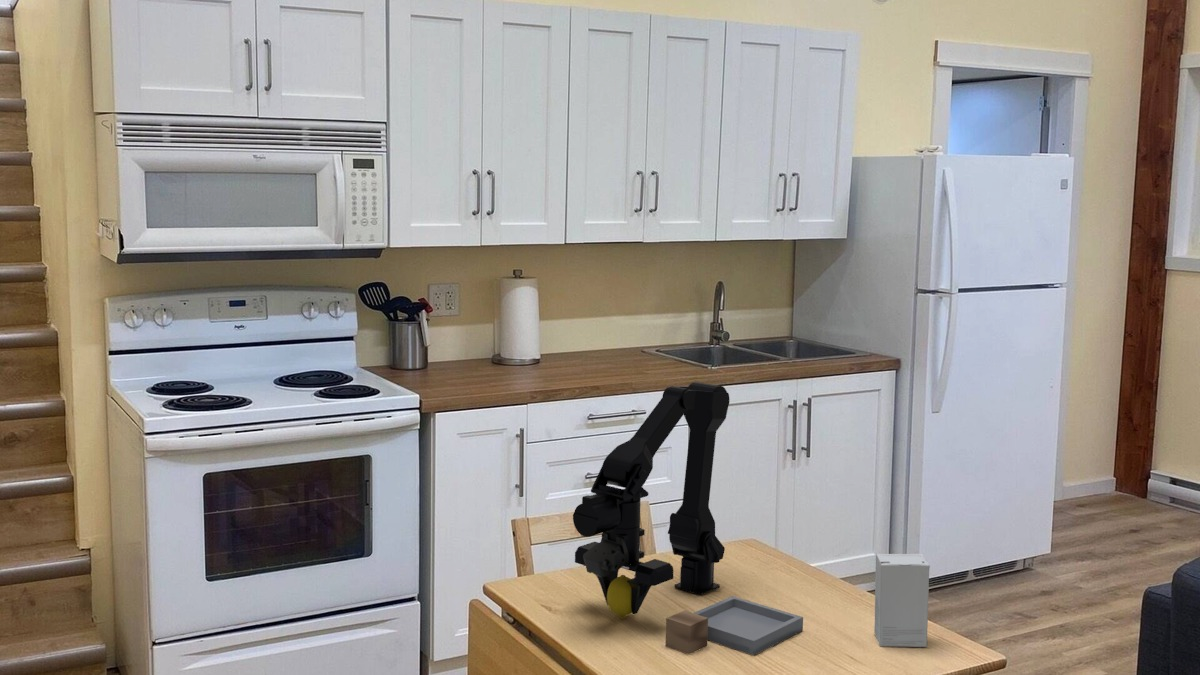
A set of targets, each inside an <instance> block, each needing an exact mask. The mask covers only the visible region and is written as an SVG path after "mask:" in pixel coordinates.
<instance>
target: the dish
mask: <svg viewBox="0 0 1200 675" xmlns="http://www.w3.org/2000/svg"><path fill="white" fill-rule="evenodd" d="M693 613H694V614H697V615H700V616H703V617H707V618H708V636H707V641H709V642H712V643H715V644H718V645H721V646H724V647H727V648H730V649H733V650H736V651H739V652H740V653H741V652H742V653H744V654H747V655H751V656H755V654H756V655H758V654H760V653H761V652H763V651H765V650H768V649H769V648H772V647H774V646H776V645H777V644H779V643H781V642H783V641H785V640H788V639H789V638H791V637H793V636H795V635H797V634H799V633H801V632H803V631H804V630H803V629H804V617H803V616H800V615H798V614H796V613H795V614H794V613H791V612H788V611H784V610H781V609H778V608H774V607H772V606H768V605H764V604H762V603H758V602H755V601H751V600H747V599H744V598H741V597H737V596H734V595H732V596H729V597H726V598H725V599H722V600H720V601H718V602H715V603H714V604H711V605H708V606H706V607H703V608H702V609H699V610H696V611H694V612H693Z"/></svg>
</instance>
